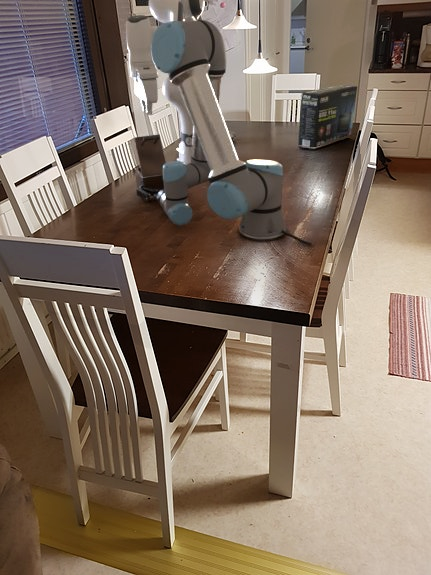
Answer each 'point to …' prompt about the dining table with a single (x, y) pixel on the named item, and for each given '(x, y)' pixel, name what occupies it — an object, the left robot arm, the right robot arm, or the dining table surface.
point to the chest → (149, 181)
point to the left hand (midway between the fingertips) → (147, 113)
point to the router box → (326, 115)
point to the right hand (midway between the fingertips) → (154, 182)
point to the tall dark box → (150, 154)
